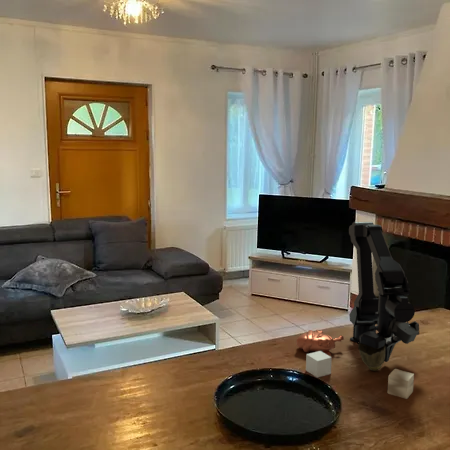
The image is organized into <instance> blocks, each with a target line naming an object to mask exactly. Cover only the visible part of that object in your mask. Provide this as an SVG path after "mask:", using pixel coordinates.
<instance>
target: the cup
mask: <svg viewBox="0 0 450 450" xmlns="http://www.w3.org/2000/svg"><path fill="white" fill-rule="evenodd" d="M357 348H358V351H359V355H360V358H361V360H362V362H363V363H364V365H366V366H367V367H368V369H369V370H371V371H373V372H377V371H379V370H380V369H382V365H383V364H384V363H385V362H384V360H385V345H384V346H383V347H381V348H379V349H376V348H373V347H370V346H367V345H365V344H362V343H358V344H357Z"/></svg>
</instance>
